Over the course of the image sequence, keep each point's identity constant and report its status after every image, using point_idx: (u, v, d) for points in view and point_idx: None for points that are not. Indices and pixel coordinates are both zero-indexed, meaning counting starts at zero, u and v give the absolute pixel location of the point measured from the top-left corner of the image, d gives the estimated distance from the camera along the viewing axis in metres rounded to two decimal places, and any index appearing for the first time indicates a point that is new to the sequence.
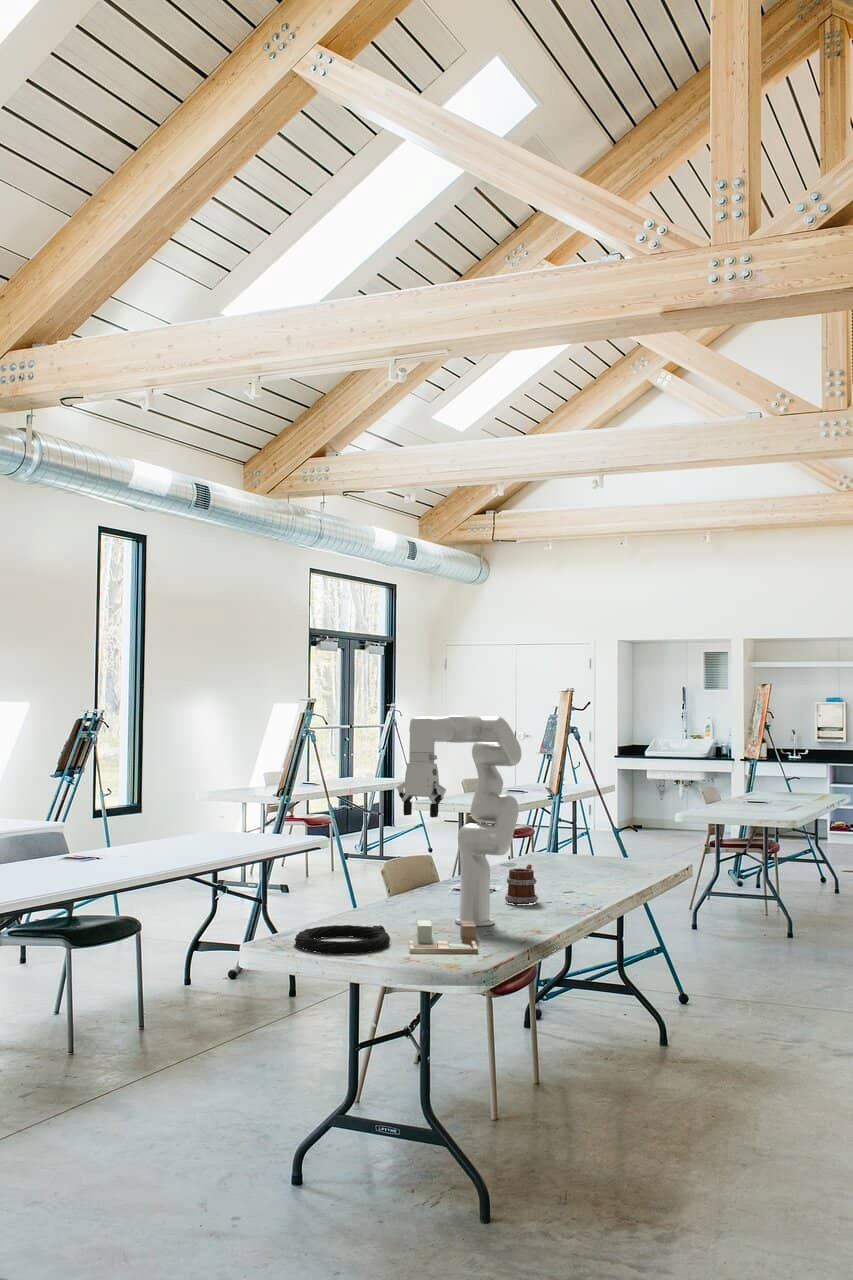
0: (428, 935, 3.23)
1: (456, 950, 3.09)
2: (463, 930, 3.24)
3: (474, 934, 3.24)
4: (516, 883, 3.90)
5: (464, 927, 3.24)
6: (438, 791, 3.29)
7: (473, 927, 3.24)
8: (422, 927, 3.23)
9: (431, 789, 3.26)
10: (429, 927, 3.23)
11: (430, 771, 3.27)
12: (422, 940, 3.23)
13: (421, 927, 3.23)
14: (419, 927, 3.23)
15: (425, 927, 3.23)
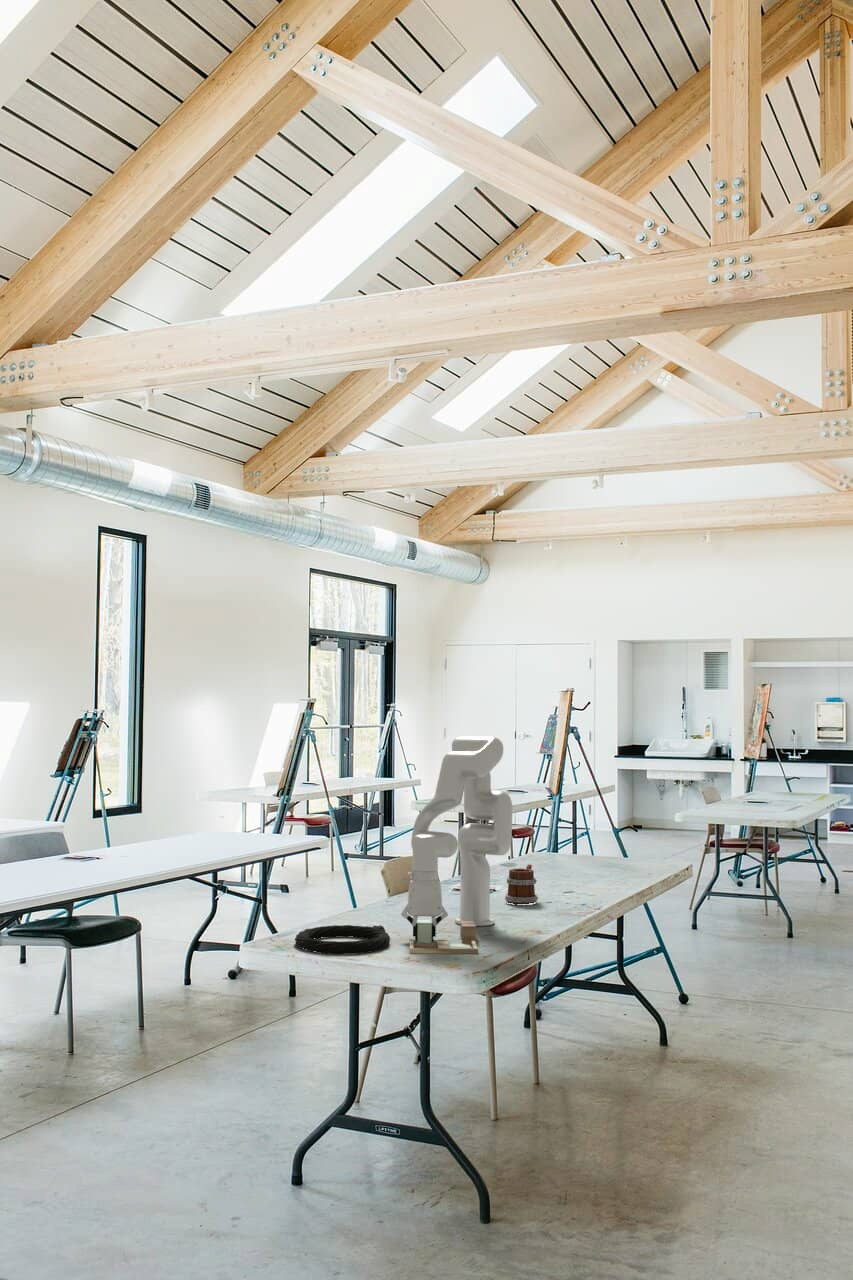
0: (428, 935, 3.23)
1: (456, 950, 3.09)
2: (463, 930, 3.24)
3: (474, 934, 3.24)
4: (516, 883, 3.90)
5: (464, 927, 3.24)
6: (407, 910, 3.26)
7: (473, 927, 3.24)
8: (422, 927, 3.23)
9: None
10: (429, 927, 3.23)
11: None
12: (422, 940, 3.23)
13: (421, 927, 3.23)
14: (419, 927, 3.23)
15: (425, 927, 3.23)
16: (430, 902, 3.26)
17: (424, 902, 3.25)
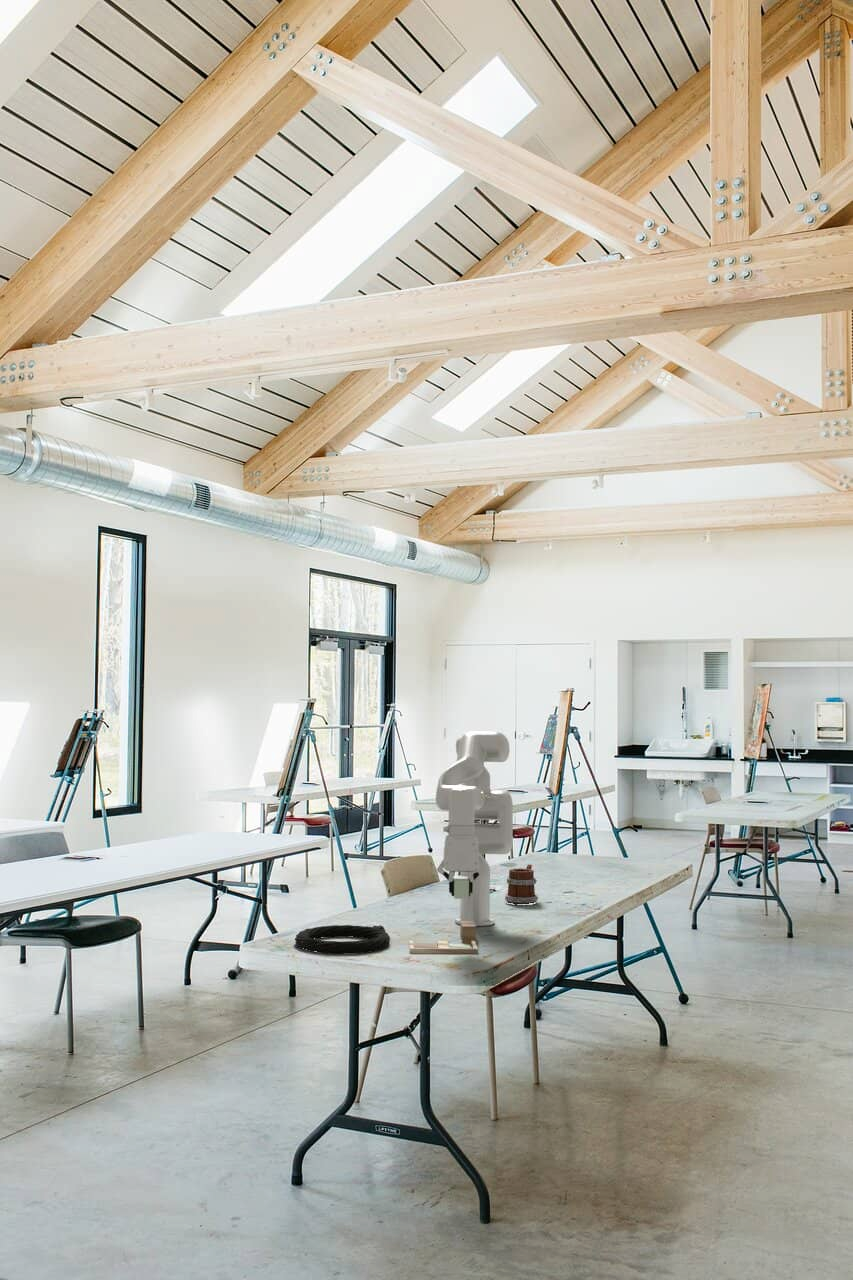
0: (465, 890, 3.13)
1: (456, 950, 3.09)
2: (463, 930, 3.24)
3: (474, 934, 3.24)
4: (516, 883, 3.90)
5: (464, 927, 3.24)
6: (443, 865, 3.16)
7: (473, 927, 3.24)
8: (459, 882, 3.13)
9: None
10: (466, 882, 3.13)
11: None
12: (459, 895, 3.12)
13: (458, 882, 3.13)
14: (456, 882, 3.13)
15: (462, 882, 3.13)
16: (467, 857, 3.15)
17: (461, 856, 3.15)
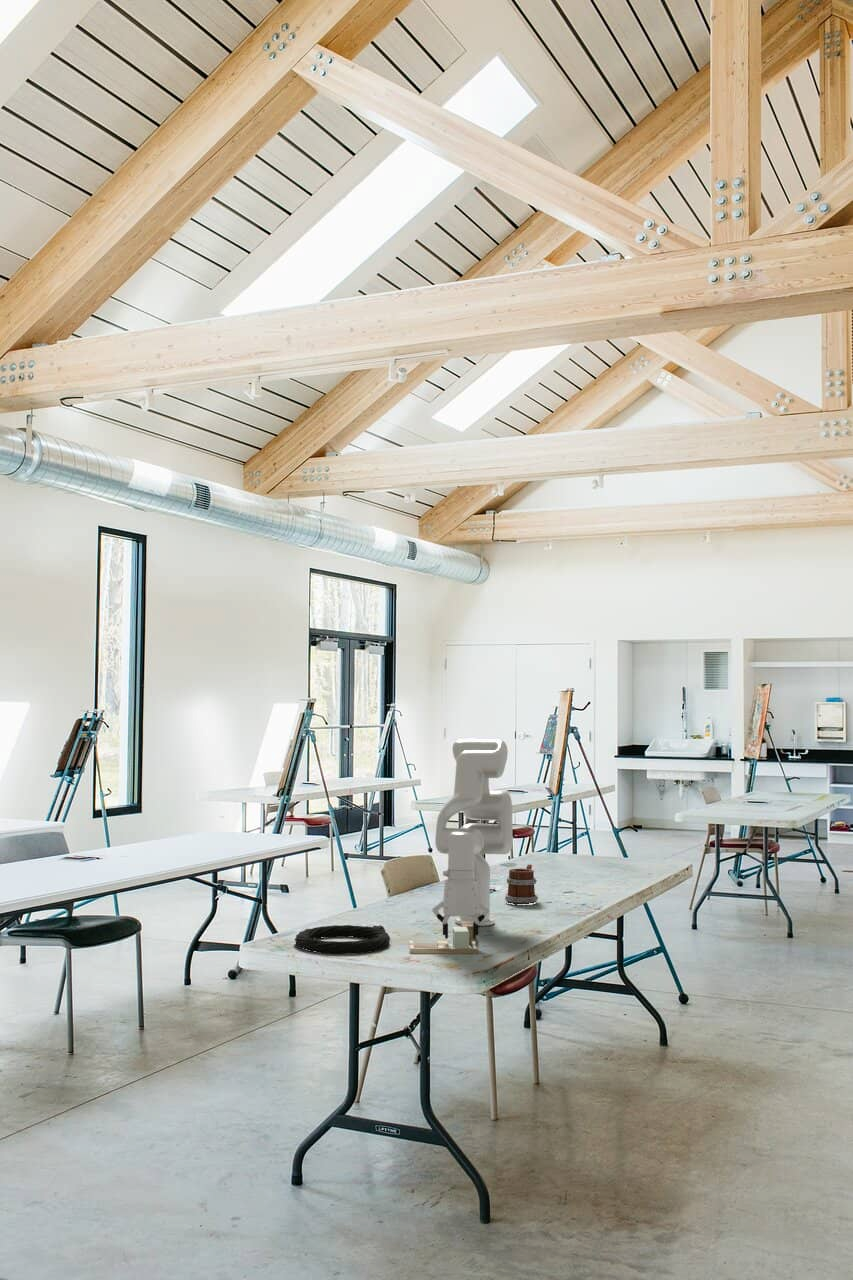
0: (466, 943, 3.12)
1: (456, 950, 3.09)
2: None
3: None
4: (516, 883, 3.90)
5: None
6: (443, 910, 3.15)
7: None
8: (459, 934, 3.12)
9: None
10: (466, 934, 3.12)
11: None
12: (459, 947, 3.11)
13: (458, 934, 3.12)
14: (456, 934, 3.12)
15: (462, 934, 3.12)
16: (467, 902, 3.14)
17: (460, 901, 3.14)
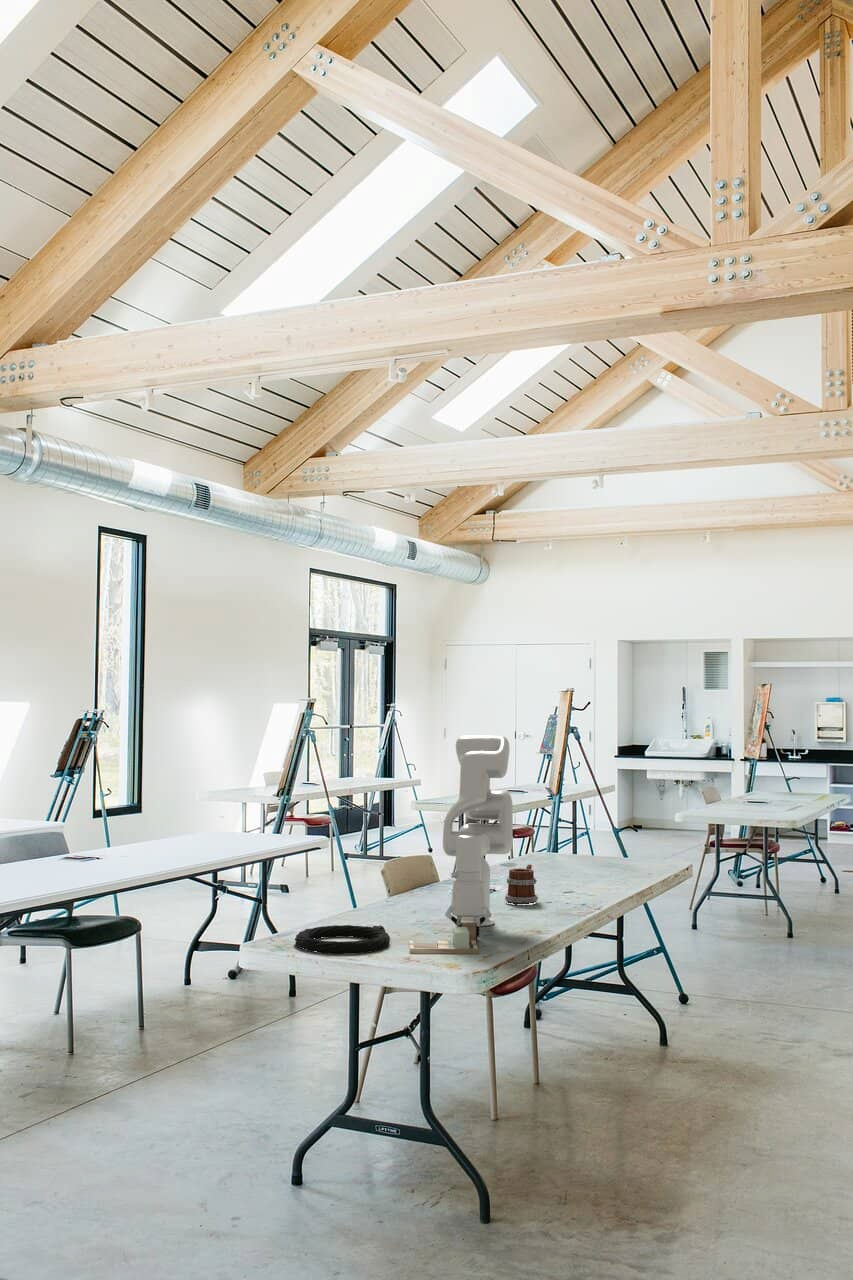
0: (466, 943, 3.12)
1: (456, 950, 3.09)
2: None
3: (474, 933, 3.23)
4: (516, 883, 3.90)
5: (464, 926, 3.23)
6: (451, 910, 3.26)
7: (473, 926, 3.23)
8: (459, 934, 3.12)
9: None
10: (466, 934, 3.12)
11: None
12: (459, 947, 3.11)
13: (458, 934, 3.12)
14: (456, 934, 3.12)
15: (462, 934, 3.12)
16: (474, 902, 3.26)
17: (468, 902, 3.26)
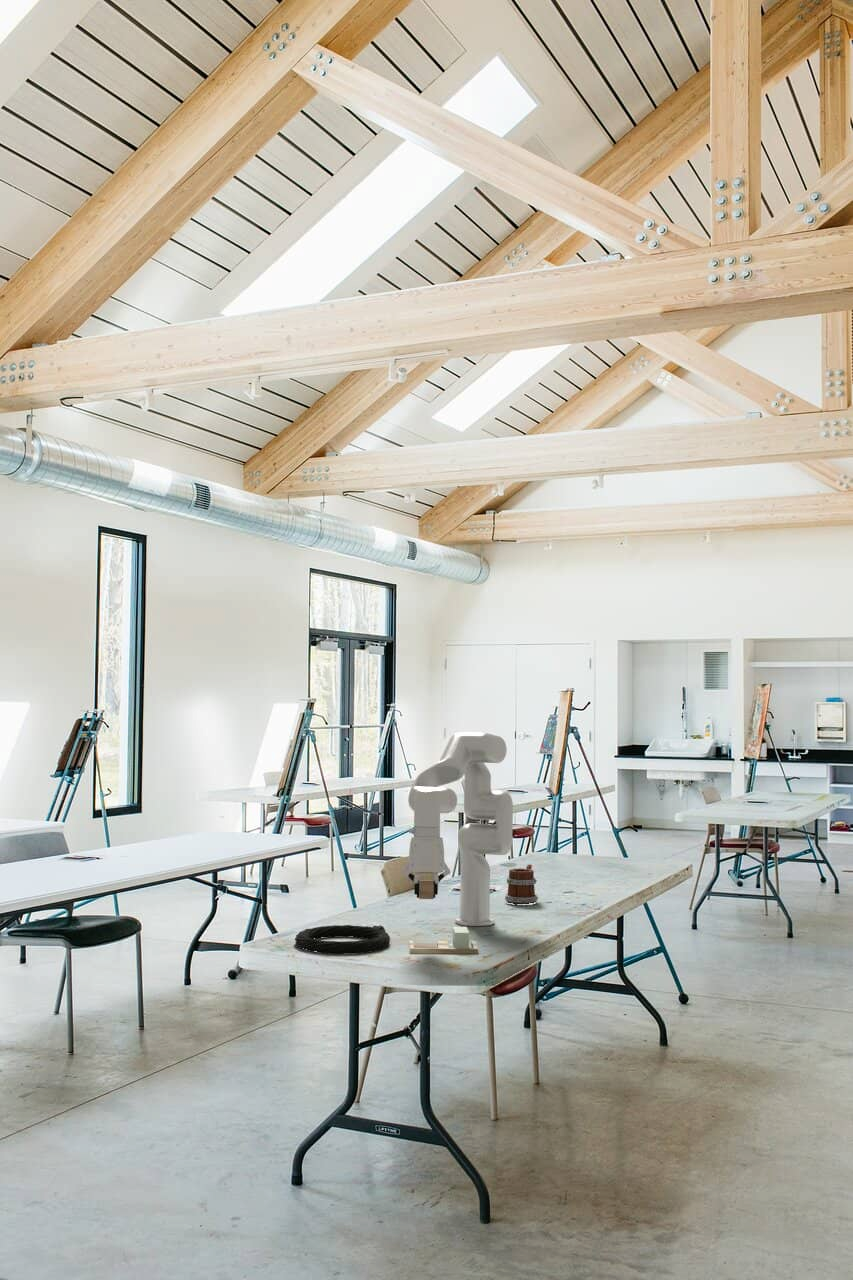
0: (466, 943, 3.12)
1: (456, 950, 3.09)
2: (420, 885, 3.12)
3: (432, 889, 3.12)
4: (516, 883, 3.90)
5: (421, 882, 3.12)
6: (408, 867, 3.15)
7: (431, 882, 3.12)
8: (459, 934, 3.12)
9: None
10: (466, 934, 3.12)
11: None
12: (459, 947, 3.11)
13: (458, 934, 3.12)
14: (456, 934, 3.12)
15: (462, 934, 3.12)
16: (432, 858, 3.15)
17: (426, 858, 3.15)
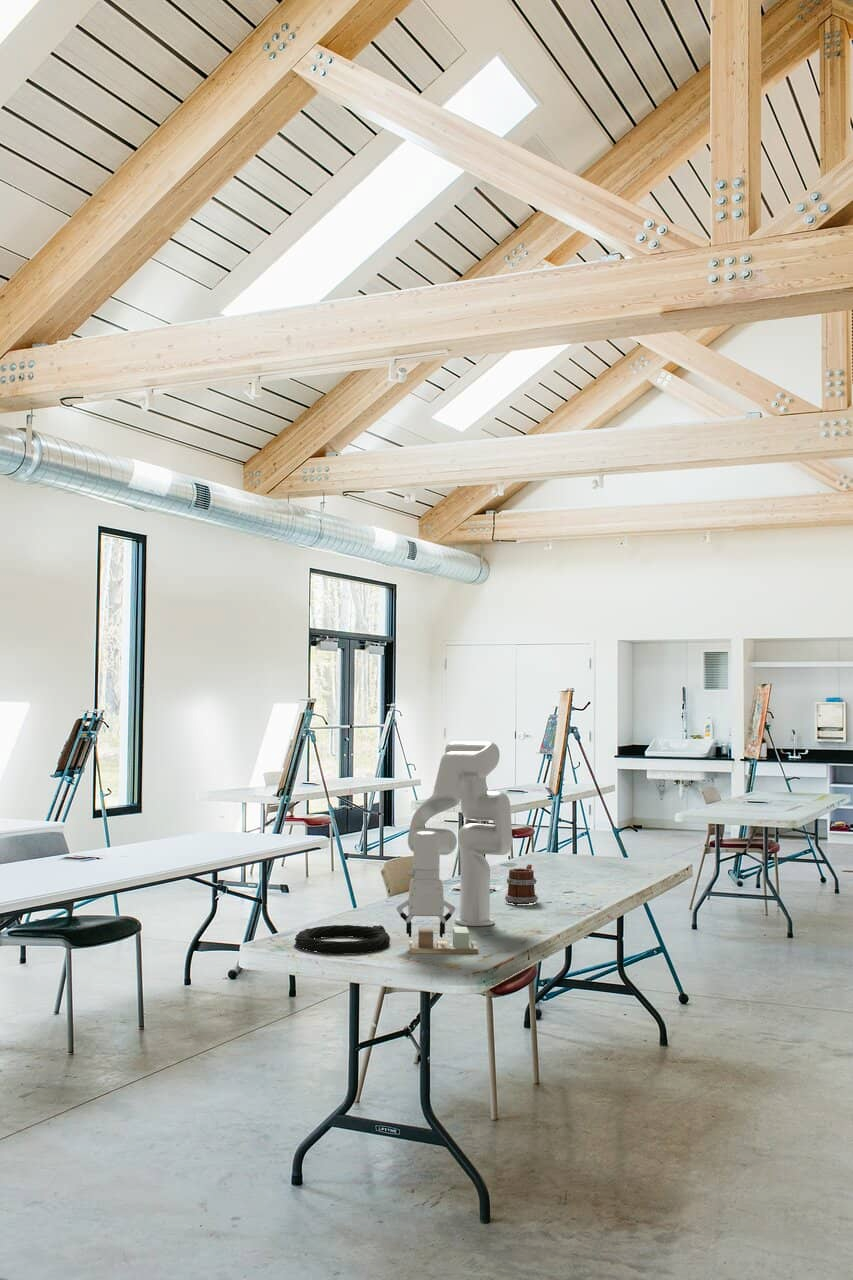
0: (466, 943, 3.12)
1: (456, 950, 3.09)
2: (420, 937, 3.10)
3: (431, 941, 3.10)
4: (516, 883, 3.90)
5: (421, 934, 3.10)
6: (408, 910, 3.14)
7: (430, 934, 3.10)
8: (459, 934, 3.12)
9: None
10: (466, 934, 3.12)
11: None
12: (459, 947, 3.11)
13: (458, 934, 3.12)
14: (456, 934, 3.12)
15: (462, 934, 3.12)
16: (432, 901, 3.14)
17: (425, 901, 3.14)
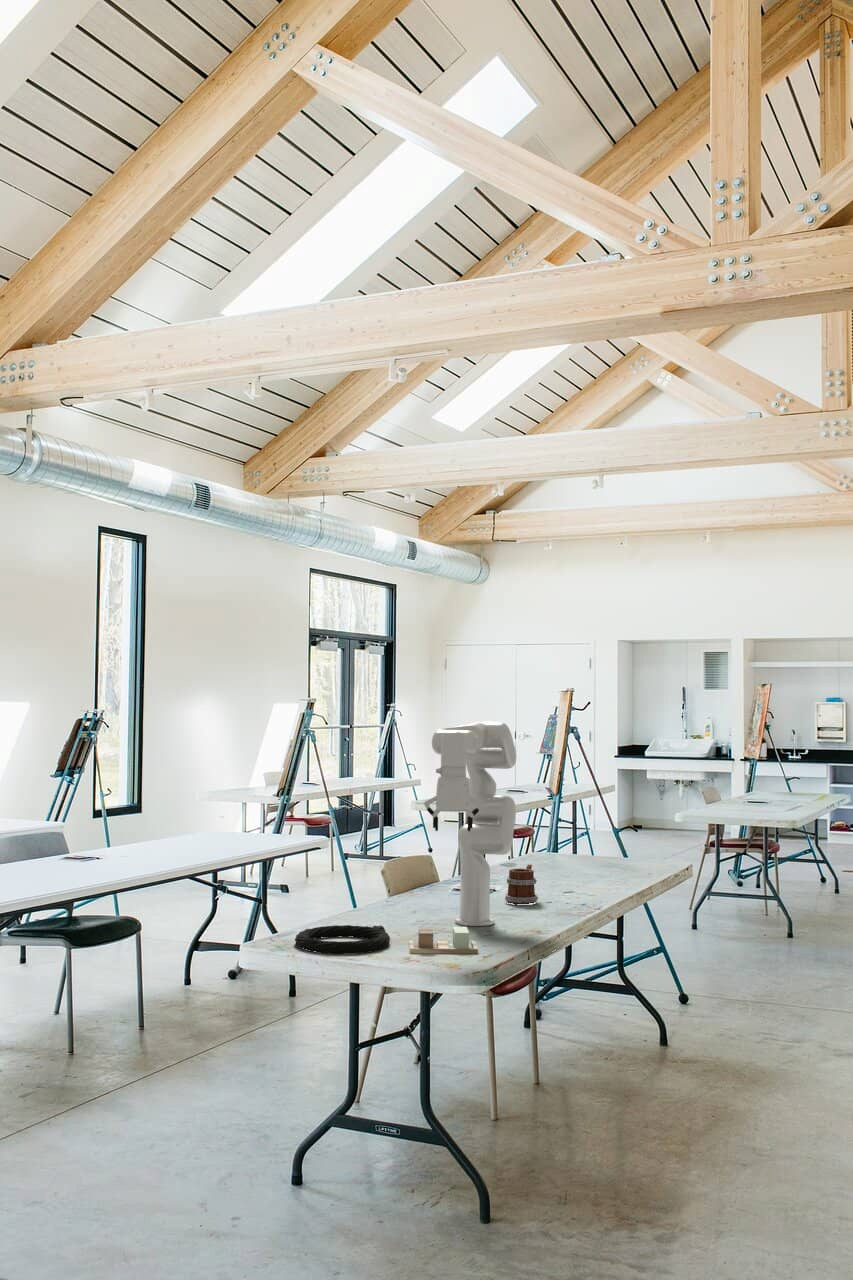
0: (466, 943, 3.12)
1: (456, 950, 3.09)
2: (420, 937, 3.10)
3: (431, 941, 3.10)
4: (516, 883, 3.90)
5: (421, 934, 3.10)
6: (436, 805, 3.27)
7: (430, 934, 3.10)
8: (459, 934, 3.12)
9: None
10: (466, 934, 3.12)
11: None
12: (459, 947, 3.11)
13: (458, 934, 3.12)
14: (456, 934, 3.12)
15: (462, 934, 3.12)
16: (459, 797, 3.26)
17: (452, 797, 3.26)
